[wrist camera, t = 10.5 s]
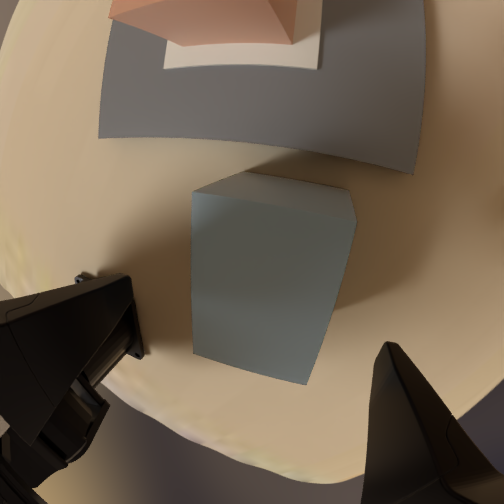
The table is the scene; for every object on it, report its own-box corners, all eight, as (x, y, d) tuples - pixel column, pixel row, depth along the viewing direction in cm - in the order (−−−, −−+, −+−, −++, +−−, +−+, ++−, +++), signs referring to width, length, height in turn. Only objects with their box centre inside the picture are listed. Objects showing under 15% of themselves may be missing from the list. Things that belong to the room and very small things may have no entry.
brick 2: (318, 316, 15) (306, 385, 10) (231, 295, 16) (193, 353, 11) (348, 190, 12) (357, 222, 7) (242, 171, 13) (192, 191, 8)
